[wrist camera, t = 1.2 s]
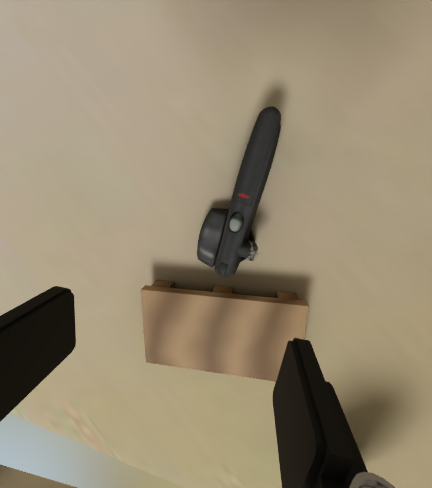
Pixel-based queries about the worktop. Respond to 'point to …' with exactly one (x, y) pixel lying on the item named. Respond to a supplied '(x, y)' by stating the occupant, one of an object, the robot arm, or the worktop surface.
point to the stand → (220, 329)
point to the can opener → (241, 202)
